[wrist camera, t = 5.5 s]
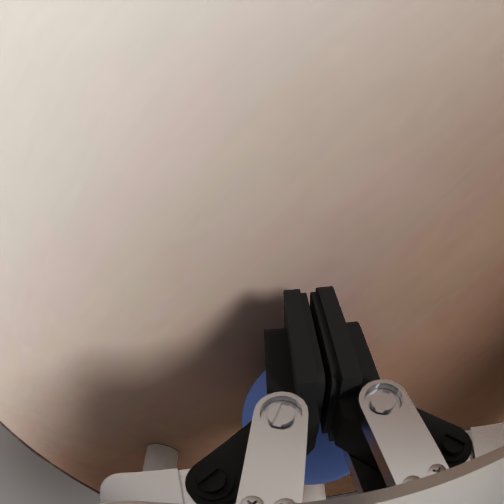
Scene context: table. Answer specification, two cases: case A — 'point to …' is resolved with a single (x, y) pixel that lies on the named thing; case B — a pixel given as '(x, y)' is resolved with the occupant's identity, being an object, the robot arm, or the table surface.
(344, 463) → the ball
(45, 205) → the table surface
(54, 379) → the table surface
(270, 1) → the table surface
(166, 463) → the grey pin
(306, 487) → the white pin
